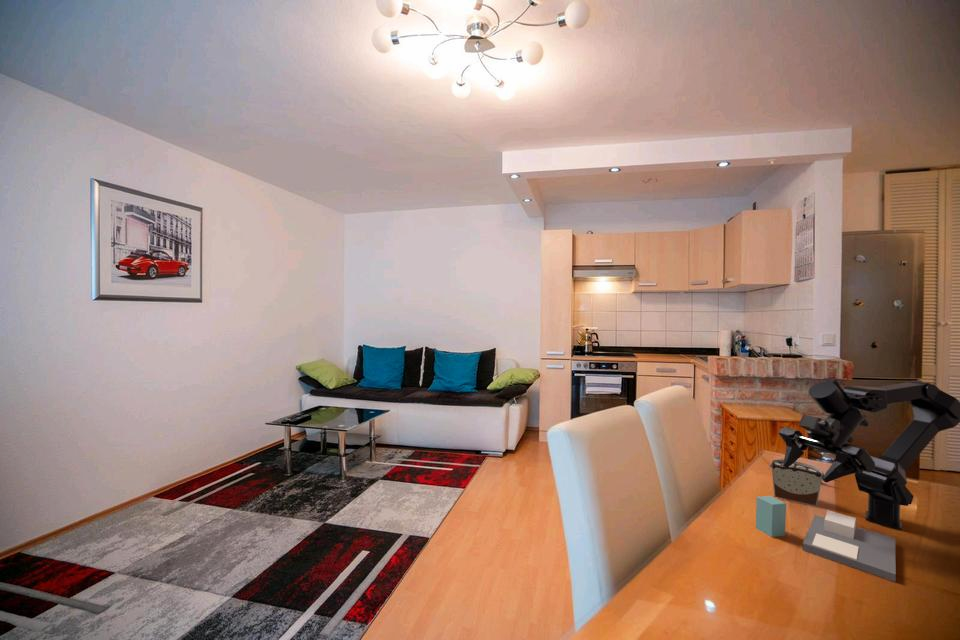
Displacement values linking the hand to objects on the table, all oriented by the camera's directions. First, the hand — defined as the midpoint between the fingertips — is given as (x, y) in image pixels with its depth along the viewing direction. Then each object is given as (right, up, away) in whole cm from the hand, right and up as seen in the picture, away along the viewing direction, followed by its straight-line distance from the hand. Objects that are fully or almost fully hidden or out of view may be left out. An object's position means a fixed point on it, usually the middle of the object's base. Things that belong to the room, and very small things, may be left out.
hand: (803, 473), depth 96 cm
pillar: (-10, -13, -2) cm, 16 cm away
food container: (+11, -14, +17) cm, 25 cm away
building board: (+4, -13, -8) cm, 16 cm away
